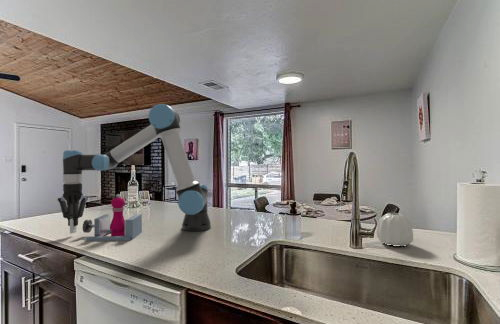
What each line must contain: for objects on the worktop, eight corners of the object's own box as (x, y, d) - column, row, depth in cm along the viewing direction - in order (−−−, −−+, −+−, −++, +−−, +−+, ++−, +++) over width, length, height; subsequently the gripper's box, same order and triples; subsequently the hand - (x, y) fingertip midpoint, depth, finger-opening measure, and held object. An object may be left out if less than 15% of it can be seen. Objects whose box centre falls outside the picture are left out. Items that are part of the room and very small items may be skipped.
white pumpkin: (370, 241, 123) (370, 211, 123) (393, 238, 128) (393, 209, 128) (396, 251, 110) (396, 218, 110) (420, 247, 115) (421, 215, 115)
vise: (142, 231, 139) (142, 213, 139) (131, 240, 124) (131, 220, 124) (102, 231, 138) (102, 214, 138) (86, 240, 123) (86, 220, 123)
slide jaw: (110, 232, 136) (110, 214, 136) (100, 238, 126) (100, 218, 126) (91, 232, 136) (91, 214, 136) (80, 238, 126) (80, 219, 126)
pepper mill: (119, 238, 127) (119, 195, 127) (106, 237, 128) (106, 194, 128) (129, 234, 134) (129, 193, 134) (116, 233, 136) (116, 193, 135)
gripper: (91, 182, 134) (91, 230, 134) (63, 182, 133) (64, 230, 134) (82, 183, 127) (82, 234, 127) (53, 183, 126) (53, 235, 126)
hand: (73, 232), depth 130 cm, fingers closed
